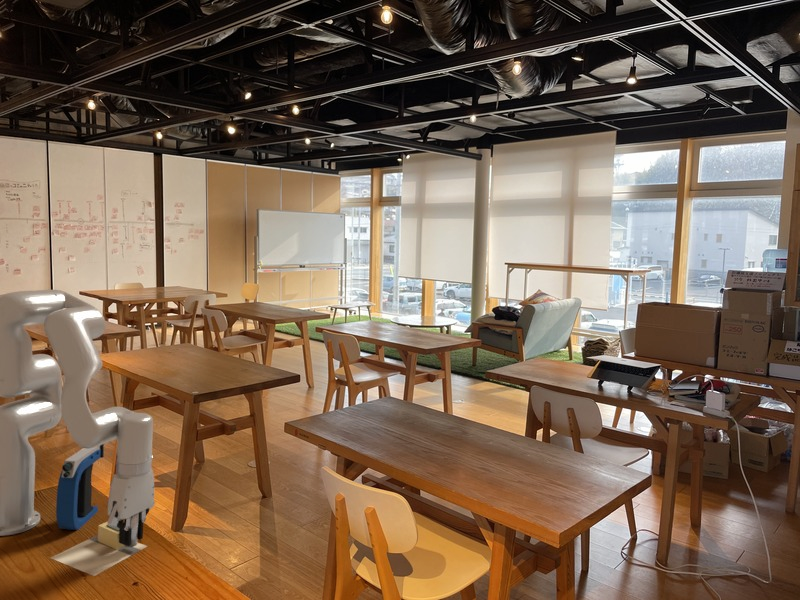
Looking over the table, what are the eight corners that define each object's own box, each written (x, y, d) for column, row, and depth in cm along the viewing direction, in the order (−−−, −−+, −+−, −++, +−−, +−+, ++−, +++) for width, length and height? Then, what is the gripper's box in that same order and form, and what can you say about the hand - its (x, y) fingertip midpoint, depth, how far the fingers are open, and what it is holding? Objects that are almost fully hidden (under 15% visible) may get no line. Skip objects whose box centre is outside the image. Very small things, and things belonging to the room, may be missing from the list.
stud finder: (97, 541, 144) (98, 524, 143) (114, 533, 148) (114, 517, 147) (117, 550, 141) (117, 532, 140) (133, 542, 145) (134, 525, 144)
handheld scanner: (103, 510, 161) (105, 440, 159) (73, 539, 145) (74, 462, 143) (86, 509, 161) (88, 439, 159) (54, 538, 145) (55, 461, 143)
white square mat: (50, 562, 135) (50, 557, 135) (105, 534, 149) (105, 530, 149) (94, 580, 130) (94, 575, 130) (147, 550, 143) (147, 546, 143)
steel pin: (120, 545, 140) (122, 510, 139) (130, 539, 143) (132, 504, 142) (131, 548, 139) (133, 513, 138) (141, 542, 142) (143, 507, 141)
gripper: (148, 452, 148) (145, 523, 150) (92, 474, 133) (89, 551, 135) (171, 459, 145) (168, 530, 147) (117, 481, 130) (113, 561, 132)
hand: (130, 540), depth 141 cm, fingers closed on steel pin, 2 cm apart
